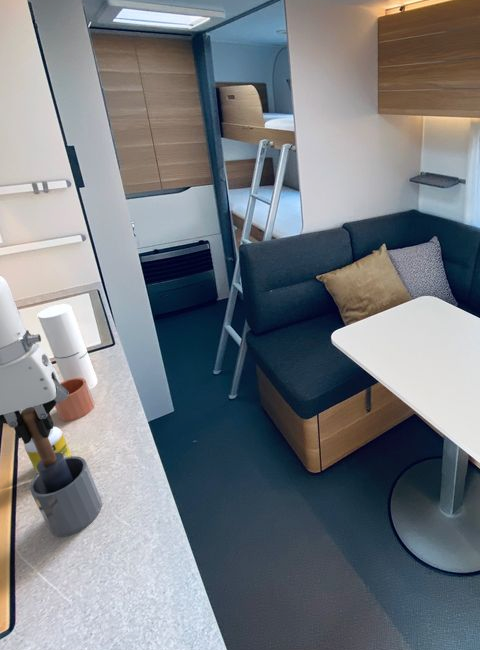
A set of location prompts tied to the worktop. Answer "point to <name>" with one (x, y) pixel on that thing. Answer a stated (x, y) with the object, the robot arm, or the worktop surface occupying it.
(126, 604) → the worktop surface
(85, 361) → the cylindrical container
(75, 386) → the cup
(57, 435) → the pill bottle
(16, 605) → the worktop surface
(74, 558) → the worktop surface
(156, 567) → the worktop surface
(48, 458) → the brush
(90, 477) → the tumbler
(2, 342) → the robot arm
